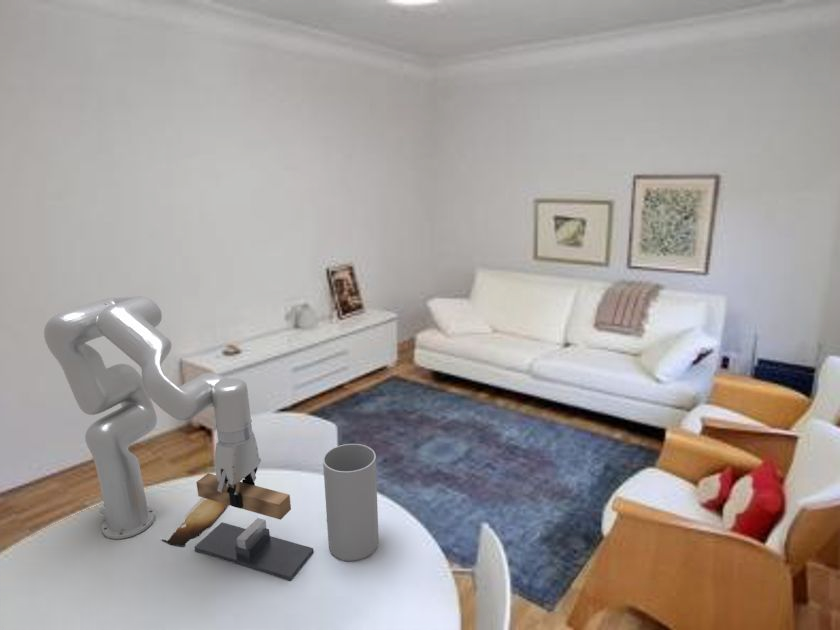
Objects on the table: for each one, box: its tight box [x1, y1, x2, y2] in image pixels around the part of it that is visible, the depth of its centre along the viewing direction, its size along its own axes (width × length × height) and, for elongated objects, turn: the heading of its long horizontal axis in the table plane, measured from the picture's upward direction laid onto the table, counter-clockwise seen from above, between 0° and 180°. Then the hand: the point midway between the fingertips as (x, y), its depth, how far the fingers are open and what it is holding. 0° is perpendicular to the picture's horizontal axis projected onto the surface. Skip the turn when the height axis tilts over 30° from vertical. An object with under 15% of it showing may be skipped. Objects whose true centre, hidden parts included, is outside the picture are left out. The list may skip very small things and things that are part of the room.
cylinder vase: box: [322, 443, 379, 562], centre depth 133 cm, size 12×12×25 cm
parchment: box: [161, 497, 228, 547], centre depth 148 cm, size 25×10×1 cm, turn 168°
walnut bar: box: [196, 472, 292, 521], centre depth 129 cm, size 24×4×4 cm, turn 68°
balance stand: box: [193, 517, 315, 582], centre depth 133 cm, size 28×10×7 cm, turn 69°
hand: (243, 500), depth 129 cm, fingers closed on walnut bar, 4 cm apart
